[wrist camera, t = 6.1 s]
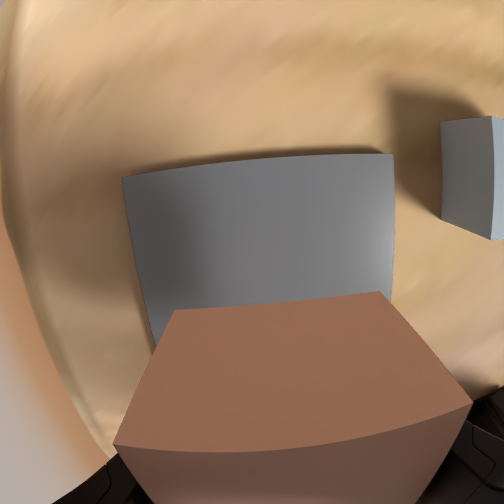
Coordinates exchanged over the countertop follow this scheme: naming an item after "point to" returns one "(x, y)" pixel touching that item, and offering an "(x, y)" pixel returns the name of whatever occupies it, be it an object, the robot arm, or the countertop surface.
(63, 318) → the countertop surface
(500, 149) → the slate-grey brick
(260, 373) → the terracotta brick
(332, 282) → the base plate
